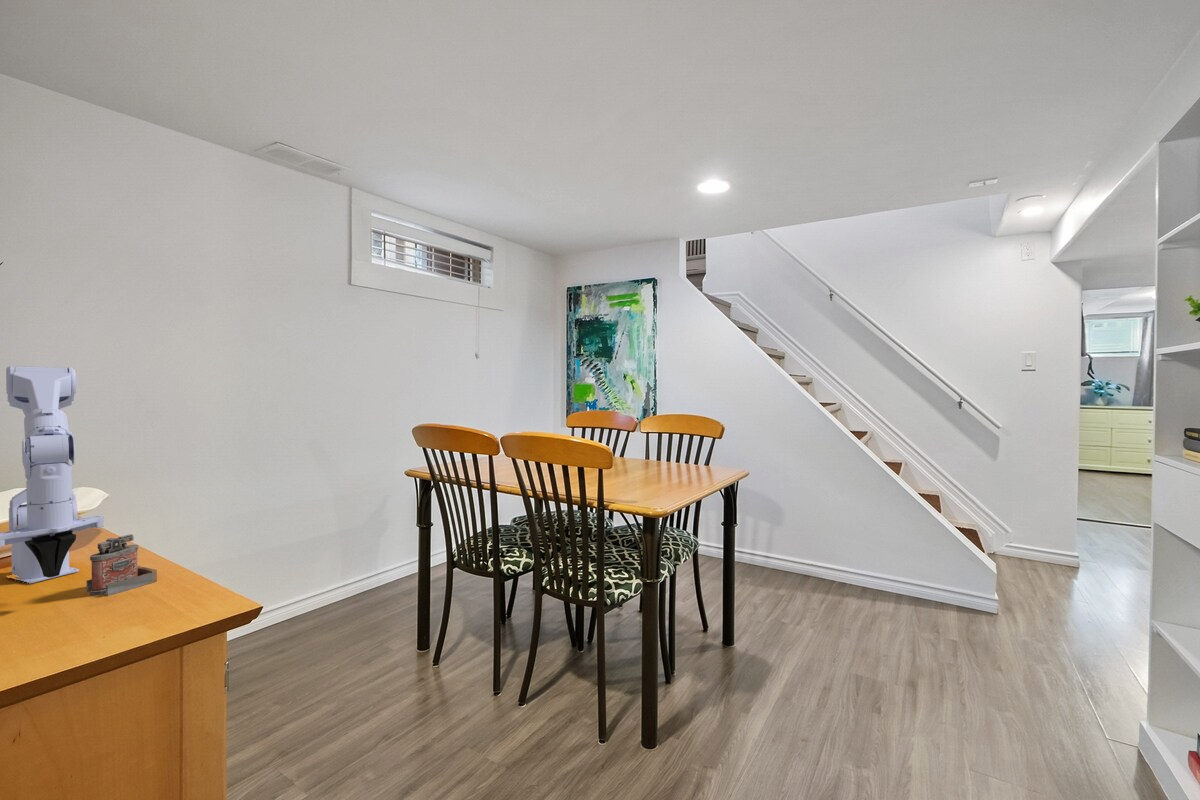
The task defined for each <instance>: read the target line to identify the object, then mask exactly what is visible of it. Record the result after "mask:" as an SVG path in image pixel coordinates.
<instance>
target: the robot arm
mask: <svg viewBox="0 0 1200 800" xmlns="http://www.w3.org/2000/svg"><path fill="white" fill-rule="evenodd" d="M5 378H6V379H5V380H6V381H5V382H6V383H5V385H6V388H5V389H6V395H7V402H8V403H9V406H10V407H12V408H17V409H19V410H21V411H22V412H23V414H24V419H23V424H24V425H23V426H24V427H23V428H24V438H23V439H22V441H21V442H22V443H21V456H22V458H21V460H22V466H23V468H24V469H23V470H24V477H25V479H26V481H25V484H26V485H25V486H26V488H25V489H23V490H22V491H20V492H18V493H17V494H15V495H13V496H12V497H11V499H10V500H9V508H8V530H9V531H4V532H0V548H1V547H3V548H4V547H5V546H8V545H11V549H10V553H11V555H10V556H11V558H10V559H11V560H10V561H11V574H14V575H17V576H19V577H15V578H16V579H18V580H21V581H24V582H27V583H26V584H28V583H29V584H34V583H38V582H42V581H45V580H50V579H54V578H58V577H62V576H65V575H66V576H67V575H70V574H74V573H77V572H80V569H79V568H76V567H71V566H70V549H71V547H72V545H73V544H74V543H75V542H76V540H77V534H75V533H74V532H77V531H84V530H88V529H93V528H96V529H98V528H103V527H104V525H105V521H104V520H105V519H104V516H100V515H95V516H90V517H89V516H88V517H81V518H78V517H79V515H78V503H77V495H76V493H75V492H74V491H73V466H72V465H75V461H76V458H77V457H76V455H77V454H76V453H77V447H76V439H75V435H74V434H73V432H72V430H70V425H69V417H68V415H67V414H66V413H65V412H64V411H63V410H61V409H64V408H66V407H70V406H72V403H73V402H74V400H75V395H76V392H77V374H76V370H75V368H73V367H72V366H68V367H66V366H65V367H64V366H63V367H62V366H61V367H59V366H57V367H56V366H21V365H20V366H19V365H17V366H14V365H12V364H11V365H9V366H7V367H6V368H5ZM70 461H71V464H72V465H71V464H70V463H69V462H70ZM25 503H26V504H25ZM24 582H23V583H24Z"/></svg>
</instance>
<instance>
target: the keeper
mask: <svg viewBox="0 0 1200 800" xmlns="http://www.w3.org/2000/svg"><path fill="white" fill-rule="evenodd" d="M157 571H158V570H157V569H154V568H150V567H145V566H140V565H138V576H137V577H133V578H130V579H126V580H123V581H119V582H116V583H112V584H108V585H106V594H105V595H106V596H107V597H109V596H112V595H115V594H118V593H119V594H120V593H123V592H126V591H130V590H133V589H136V588H139V587H142V586H145V585H149V584H153V583H156V582H158V573H157ZM85 582H86V591H87V592H91V590H92V578H90V579H88V580H86V581H85Z"/></svg>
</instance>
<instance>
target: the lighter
mask: <svg viewBox="0 0 1200 800" xmlns="http://www.w3.org/2000/svg"><path fill="white" fill-rule="evenodd" d="M133 541H135V536H134V534H125V535H122V536H118V537H109V538H107V539H106V540H105V541H102V542H99V543H97V550H98V552H97V553H94V554H91V555H89V560H90V562H91V579H92V590H90V596H92V597H98V596H103V595H106V585H108V584H112V583H116V582H119V581H123V580H126V579H130V578H133V577H137V576H138V566H139V565H138V562H139V561H138V550H139V549H140V547H139V544H128V543H129V542H133Z"/></svg>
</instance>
